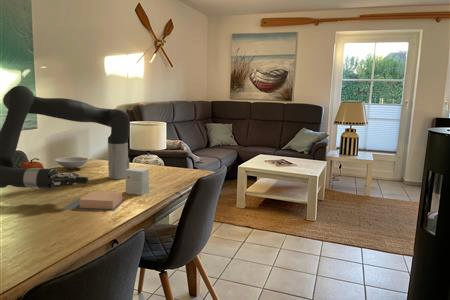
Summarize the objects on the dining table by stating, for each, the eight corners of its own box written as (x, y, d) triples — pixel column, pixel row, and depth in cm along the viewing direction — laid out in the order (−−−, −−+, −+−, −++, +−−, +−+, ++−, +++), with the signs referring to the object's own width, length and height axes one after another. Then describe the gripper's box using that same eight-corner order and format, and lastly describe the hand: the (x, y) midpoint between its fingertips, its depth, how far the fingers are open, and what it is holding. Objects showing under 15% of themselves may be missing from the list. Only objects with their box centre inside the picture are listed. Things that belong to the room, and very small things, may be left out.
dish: (49, 170, 180) (49, 161, 180) (62, 165, 195) (61, 156, 194) (83, 172, 180) (83, 162, 180) (93, 166, 195) (93, 157, 194)
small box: (149, 193, 147) (149, 168, 145) (142, 196, 141) (142, 171, 140) (133, 190, 149) (132, 166, 147) (125, 194, 144) (125, 169, 142)
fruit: (28, 176, 168) (27, 155, 167) (48, 176, 168) (47, 156, 166) (16, 181, 159) (15, 159, 157) (37, 181, 159) (35, 160, 157)
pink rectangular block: (79, 199, 123) (112, 200, 123) (91, 191, 133) (122, 193, 133) (79, 208, 124) (113, 209, 123) (91, 199, 133) (122, 200, 133)
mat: (62, 210, 122) (61, 208, 122) (78, 199, 135) (78, 197, 135) (114, 212, 122) (113, 210, 122) (125, 201, 135) (125, 199, 134)
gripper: (29, 172, 120) (79, 174, 120) (50, 164, 134) (94, 166, 133) (31, 193, 122) (79, 195, 121) (51, 183, 135) (95, 185, 134)
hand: (87, 180), depth 127 cm, fingers closed
